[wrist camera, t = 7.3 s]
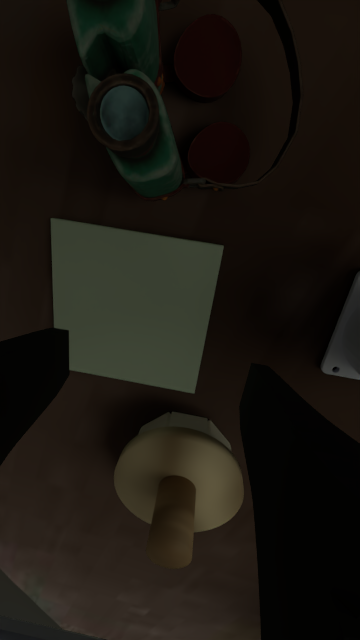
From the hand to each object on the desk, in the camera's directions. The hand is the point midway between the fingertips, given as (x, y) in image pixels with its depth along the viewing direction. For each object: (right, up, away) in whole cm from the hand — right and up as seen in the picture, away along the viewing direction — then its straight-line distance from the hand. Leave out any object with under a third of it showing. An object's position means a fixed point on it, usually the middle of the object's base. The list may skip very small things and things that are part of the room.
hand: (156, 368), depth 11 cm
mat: (-3, +3, +11) cm, 11 cm away
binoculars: (+2, +14, +6) cm, 15 cm away
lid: (+1, -11, +12) cm, 17 cm away
